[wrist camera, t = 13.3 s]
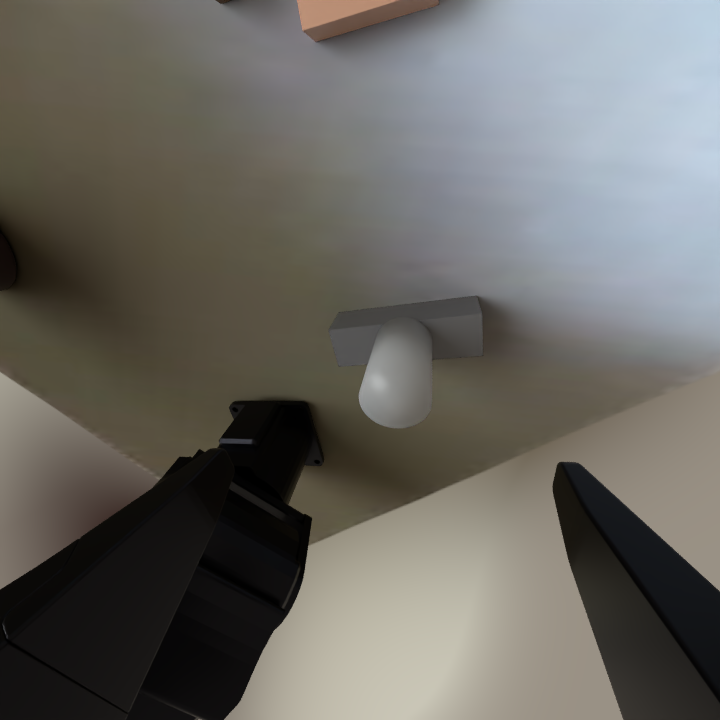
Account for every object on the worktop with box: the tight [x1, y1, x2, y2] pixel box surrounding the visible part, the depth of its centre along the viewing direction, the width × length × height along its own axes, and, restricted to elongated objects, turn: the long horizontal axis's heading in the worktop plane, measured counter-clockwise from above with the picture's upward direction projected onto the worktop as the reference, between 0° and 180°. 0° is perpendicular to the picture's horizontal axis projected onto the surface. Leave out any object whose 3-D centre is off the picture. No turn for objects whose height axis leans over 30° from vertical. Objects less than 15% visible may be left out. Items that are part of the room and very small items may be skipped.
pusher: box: [329, 296, 483, 428], centre depth 17 cm, size 3×8×8 cm, turn 102°
